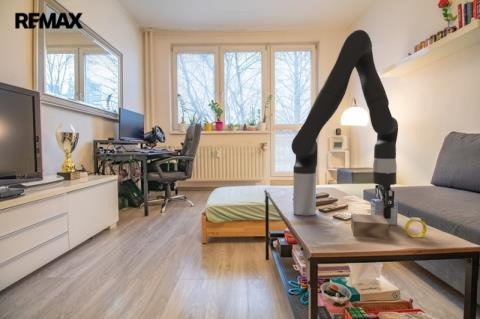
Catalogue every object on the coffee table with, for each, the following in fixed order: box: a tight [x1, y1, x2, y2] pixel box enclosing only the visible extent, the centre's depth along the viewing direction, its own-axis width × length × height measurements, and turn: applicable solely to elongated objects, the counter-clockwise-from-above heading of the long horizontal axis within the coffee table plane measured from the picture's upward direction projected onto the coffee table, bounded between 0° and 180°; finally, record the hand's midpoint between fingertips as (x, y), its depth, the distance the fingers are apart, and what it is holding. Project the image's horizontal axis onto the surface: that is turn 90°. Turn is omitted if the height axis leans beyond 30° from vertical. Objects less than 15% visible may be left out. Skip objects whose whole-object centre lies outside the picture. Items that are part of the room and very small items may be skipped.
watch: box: [404, 217, 428, 238], centre depth 85 cm, size 6×3×6 cm, turn 88°
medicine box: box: [370, 198, 399, 226], centre depth 99 cm, size 8×4×9 cm, turn 84°
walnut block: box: [350, 213, 390, 240], centre depth 89 cm, size 10×10×5 cm
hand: (383, 215), depth 99 cm, fingers open, 7 cm apart
